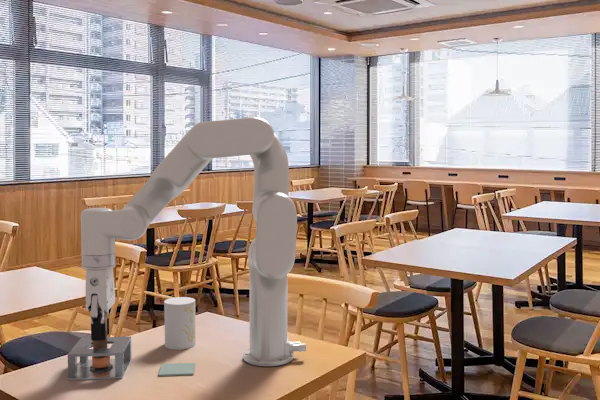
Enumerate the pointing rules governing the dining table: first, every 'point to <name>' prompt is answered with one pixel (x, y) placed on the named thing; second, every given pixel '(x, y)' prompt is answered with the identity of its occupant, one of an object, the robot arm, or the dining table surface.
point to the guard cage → (82, 350)
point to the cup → (179, 323)
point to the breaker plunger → (100, 362)
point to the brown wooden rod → (101, 343)
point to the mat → (177, 369)
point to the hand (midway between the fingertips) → (100, 336)
